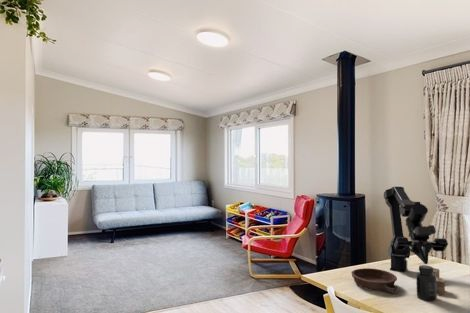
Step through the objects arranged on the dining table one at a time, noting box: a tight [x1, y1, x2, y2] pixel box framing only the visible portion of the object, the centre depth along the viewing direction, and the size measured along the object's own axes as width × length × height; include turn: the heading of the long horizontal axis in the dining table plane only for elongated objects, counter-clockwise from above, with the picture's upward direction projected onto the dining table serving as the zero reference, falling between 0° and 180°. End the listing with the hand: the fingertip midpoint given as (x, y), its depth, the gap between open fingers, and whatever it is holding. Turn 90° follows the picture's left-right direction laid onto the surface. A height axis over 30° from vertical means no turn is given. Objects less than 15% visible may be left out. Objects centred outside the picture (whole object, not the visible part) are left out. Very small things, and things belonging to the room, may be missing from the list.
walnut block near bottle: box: [436, 277, 446, 295], centre depth 140 cm, size 5×5×5 cm
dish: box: [351, 267, 398, 294], centre depth 147 cm, size 17×22×5 cm
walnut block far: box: [433, 267, 440, 278], centre depth 153 cm, size 5×5×5 cm
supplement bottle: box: [415, 264, 438, 302], centre depth 133 cm, size 7×7×12 cm
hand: (426, 263), depth 133 cm, fingers closed
